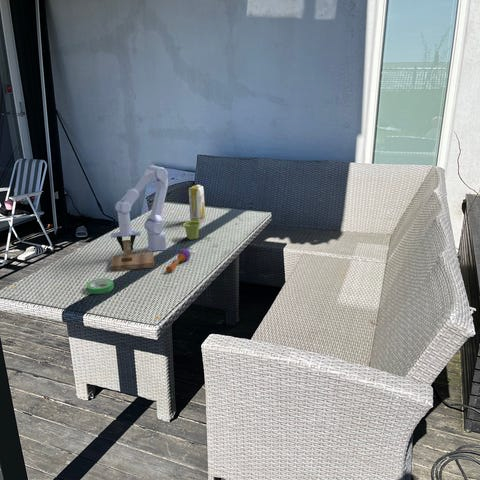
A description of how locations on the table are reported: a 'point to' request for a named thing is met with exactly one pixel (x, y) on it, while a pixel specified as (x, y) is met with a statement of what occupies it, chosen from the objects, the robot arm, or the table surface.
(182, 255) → the kendama
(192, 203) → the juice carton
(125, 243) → the beech peg
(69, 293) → the table surface
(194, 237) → the plant pot
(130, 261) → the walnut board
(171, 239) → the table surface
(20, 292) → the table surface
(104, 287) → the tape roll
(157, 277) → the table surface
